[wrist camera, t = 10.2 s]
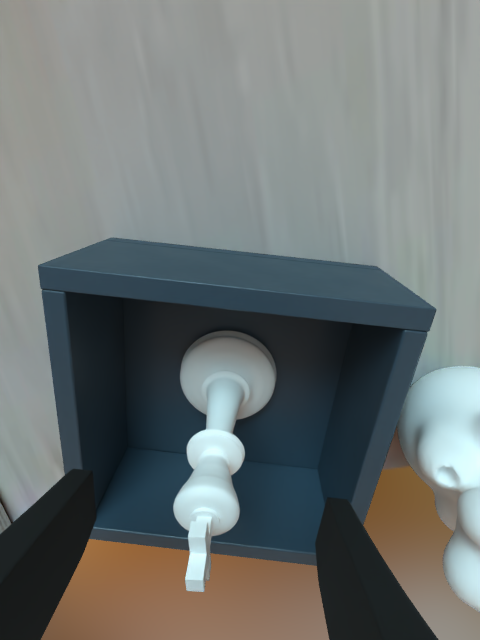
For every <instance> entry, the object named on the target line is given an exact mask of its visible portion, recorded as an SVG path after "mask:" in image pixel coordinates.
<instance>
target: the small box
mask: <svg viewBox="0 0 480 640" xmlns="http://www.w3.org/2000/svg"><path fill="white" fill-rule="evenodd" d="M10 525H11V522H10V520H9V518H8V516H7V514H6V512H5V510H4V508H3V506H2V504H1V502H0V534H1V533H2V532H3V531H4V530H5V529H6V528H8V527H9V526H10Z"/></svg>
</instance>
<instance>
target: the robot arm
mask: <svg viewBox="0 0 480 640" xmlns="http://www.w3.org/2000/svg"><path fill="white" fill-rule="evenodd" d="M96 518H97V517H96V505H95V493H94V482H93V471H90V470H81V469H72V470H70V471H69V472H68V473H67V474H66V475H65V476H64V477H63V478H61V479H60V480H59V481H58V482H57V483H56V484H55V485H54V486H53V487H52V488H51V489H50V490H49V491H48V492H46V493H45V494H44V495H43V496H42V497H41V498H40V499H39V500H38V501H37V502H36V503H35V504H33V505H32V506H31V507H30V508H29V509H28V510H27V511H26V512H25V513H23V514H22V515H21V516H20V517H19V518H18V519H17V520H15V521H14V522H13V523H12V524H11V525H10V526H9V527H8V528H6V529H5V530H4V531H3V532H2V533H1V534H0V640H41V638H42V636H43V634H44V632H45V630H46V627H47V626H48V624H49V622H50V620H51V618H52V616H53V614H54V612H55V610H56V608H57V606H58V604H59V601H60V600H61V598H62V596H63V593H64V592H65V590H66V588H67V586H68V584H69V582H70V580H71V578H72V576H73V574H74V571H75V569H76V568H77V565H78V563H79V561H80V559H81V557H82V555H83V553H84V550H85V547H86V545H87V542H88V540H89V537H90V535H91V532H92V529H93V526H94V524H95V521H96ZM315 548H316V560H317V570H318V580H319V587H320V592H321V597H322V603H323V608H324V613H325V619H326V624H327V629H328V634H329V639H330V640H438V638H437V637H436V636H435V635H434V633H433V632H432V630H431V629H430V627H429V626H428V625H427V623H426V622H425V621H424V619H423V618H422V617H421V615H420V613H419V612H418V611H417V609H416V608H415V606H414V605H413V603H412V602H411V601H410V599H409V598H408V596H407V595H406V593H405V592H404V590H403V589H402V587H401V586H400V584H399V583H398V581H397V580H396V578H395V576H394V575H393V573H392V572H391V570H390V569H389V567H388V566H387V564H386V563H385V561H384V559H383V558H382V556H381V555H380V553H379V552H378V550H377V548H376V546H375V545H374V543H373V542H372V540H371V538H370V536H369V535H368V533H367V531H366V530H365V528H364V526H363V525H362V523H361V521H360V519H359V518H358V516H357V514H356V512H355V511H354V509H353V507H352V505H351V504H350V502H349V501H348V500H347V499H340V498H331V497H327V500H326V504H325V508H324V511H323V515H322V519H321V523H320V526H319V530H318V534H317V537H316V541H315Z"/></svg>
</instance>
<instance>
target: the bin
mask: <svg viewBox="0 0 480 640" xmlns="http://www.w3.org/2000/svg"><path fill="white" fill-rule="evenodd" d="M38 271H39V279H40V286H41V289H42V298H43V306H44V314H45V322H46V330H47V337H48V345H49V353H50V361H51V369H52V377H53V385H54V393H55V401H56V409H57V417H58V424H59V432H60V440H61V448H62V456H63V464H64V472H65V475H66V474H67V473H68V472H69V471H70V470H72V469H81V470H90V471H93V482H94V493H95V505H96V517H97V518H96V521H95V524H94V526H93V529H92V532H91V535H90V537H89V539H96V540H104V541H113V542H121V543H130V544H138V545H146V546H155V547H163V548H172V549H180V550H189V542H188V534H189V531H188V530H186V529H185V528H183V527H182V526H181V525H180V524H179V522H178V521H177V519H176V518H175V515H174V511H173V505H174V501H175V498H176V496H177V494H178V493H179V491H180V490H181V488H182V487H183V485H184V484H185V483H186V482H187V481H188V479H189V478H190V476H191V474H192V472H193V471H194V469H193V468H192V467H191V465H190V464H189V462H188V458H187V445H188V442H189V441H190V439H191V438H192V437H193V436H194V435H195V434H197V433H198V432H200V431H203V430H206V420H207V415H206V414H204V413H202V412H200V411H199V410H197V409H196V408H195V407H194V406H193V405H192V404H191V403H190V402H189V401H188V399H187V398H186V396H185V395H184V393H183V390H182V387H181V383H180V370H181V363H182V359H183V357H184V354H185V353H186V351H187V349H188V348H189V347H190V346H191V345H192V344H193V343H194V342H195V341H196V340H198V339H199V338H201V337H202V336H204V335H207V334H209V333H213V332H217V331H236V332H241V333H244V334H247V335H249V336H251V337H253V338H255V339H256V340H258V341H259V342H261V343H262V344H263V345H264V346H265V347H266V348H267V350H268V351H269V352H270V354H271V355H272V357H273V360H274V362H275V366H276V373H277V375H276V383H275V388H274V392H273V394H272V397H271V398H270V400H269V401H268V403H267V404H266V405H265V406H264V407H263V408H262V409H261V410H260V411H258V412H257V413H255V414H253V415H251V416H249V417H246V418H243V419H238V420H236V423H235V426H234V430H233V435H235V436H236V437H237V438H238V439H239V440H240V441H241V443H242V444H243V446H244V450H245V457H244V461H243V463H242V465H241V467H240V468H239V470H238V471H237V472H236V473H234V474H233V475H231V478H232V484H233V487H234V490H235V492H236V494H237V498H238V502H239V507H240V515H239V519H238V521H237V523H236V524H235V526H234V527H233V528H232V529H230V530H229V531H227V532H225V533H223V534H220V535H216V536H212V537H211V544H210V553H214V554H223V555H231V556H239V557H248V558H256V559H265V560H273V561H282V562H290V563H298V564H306V565H315V566H317V560H316V548H315V541H316V537H317V534H318V530H319V526H320V523H321V519H322V515H323V511H324V508H325V504H326V500H327V497H331V498H340V499H347V500H348V501H349V502H350V504H351V505H352V507H353V509H354V511H355V512H356V514H357V516H358V518H359V519H360V521H361V523H362V525H363V524H364V521H365V518H366V515H367V512H368V509H369V507H370V504H371V501H372V498H373V495H374V491H375V489H376V486H377V483H378V480H379V477H380V474H381V471H382V468H383V465H384V462H385V459H386V456H387V453H388V450H389V447H390V444H391V441H392V438H393V435H394V432H395V429H396V426H397V423H398V420H399V417H400V415H401V412H402V409H403V406H404V403H405V400H406V397H407V394H408V391H409V388H410V385H411V382H412V379H413V376H414V373H415V370H416V367H417V364H418V361H419V358H420V355H421V352H422V349H423V346H424V343H425V340H426V337H427V332H428V331H429V330H430V327H431V325H432V322H433V319H434V316H435V313H436V308H434V307H433V306H431V305H430V304H429V303H427V302H426V301H425V300H423V299H422V298H420V297H419V296H418V295H416V294H415V293H413V292H412V291H411V290H409V289H408V288H406V287H405V286H404V285H402V284H401V283H399V282H398V281H397V280H395V279H394V278H392V277H391V276H390V275H388V274H387V273H385V272H384V271H382V270H381V269H380V268H378V267H377V266H368V265H359V264H350V263H340V262H331V261H322V260H313V259H304V258H295V257H285V256H276V255H267V254H258V253H249V252H239V251H230V250H221V249H212V248H203V247H194V246H184V245H175V244H166V243H157V242H148V241H138V240H129V239H120V238H109V239H106V240H104V241H101V242H98V243H96V244H93V245H90V246H88V247H85V248H82V249H80V250H77V251H74V252H72V253H69V254H66V255H64V256H61V257H59V258H56V259H53V260H51V261H48V262H45V263H43V264H40V265H38ZM189 551H190V550H189Z"/></svg>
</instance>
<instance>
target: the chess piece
mask: <svg viewBox="0 0 480 640" xmlns="http://www.w3.org/2000/svg"><path fill="white" fill-rule="evenodd" d="M276 375H277V373H276V366H275V362H274V360H273V357H272V355H271V354H270V352H269V351H268V350H267V348H266V347H265V346H264V345H263V344H262V343H261V342H259V341H258V340H256V339H255V338H253V337H251V336H249V335H247V334H244V333H241V332H236V331H217V332H213V333H209V334H207V335H204V336H202V337H201V338H199V339H198V340H196V341H195V342H194V343H193V344H192V345H191V346H190V347H189V348H188V349H187V351H186V353H185V354H184V357H183V359H182V363H181V370H180V383H181V387H182V390H183V393H184V395H185V396H186V398H187V399H188V401H189V402H190V403H191V404H192V405H193V406H194V407H195V408H196V409H197V410H199V411H200V412H202V413H204V414H206V415H207V420H206V430H203V431H200V432H198V433H197V434H195V435H194V436H193V437H192V438H191V439H190V441H189V442H188V445H187V458H188V462H189V464H190V465H191V467H192V468H193V469H194V471H193V472H192V474H191V476H190V478H189V479H188V481H187V482H186V483H185V484H184V485H183V487H182V488H181V490H180V491H179V493H178V494H177V496H176V498H175V501H174V505H173V511H174V515H175V518H176V519H177V521H178V522H179V524H180V525H181V526H182V527H183V528H185V529H186V530H188V531H189V534H188V542H189V550H190V557H189V562H188V567H187V573H186V578H185V582H186V589H187V591H203V592H204V588H205V581H206V580H209V578H210V570H211V556H210V544H211V537H212V536H216V535H220V534H223V533H225V532H227V531H229V530H230V529H232V528H233V527H234V526H235V524H236V523H237V521H238V519H239V515H240V507H239V502H238V498H237V494H236V492H235V490H234V487H233V484H232V478H231V475H233V474H234V473H236V472H237V471H238V470H239V468H240V467H241V465H242V463H243V461H244V457H245V450H244V446H243V444H242V443H241V441H240V440H239V439H238V438H237V437H236V436H235V435H233V430H234V426H235V423H236V420H238V419H243V418H246V417H249V416H251V415H253V414H255V413H257V412H258V411H260V410H261V409H262V408H263V407H264V406H265V405H266V404H267V403H268V401H269V400H270V398H271V397H272V394H273V392H274V388H275V383H276Z"/></svg>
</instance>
